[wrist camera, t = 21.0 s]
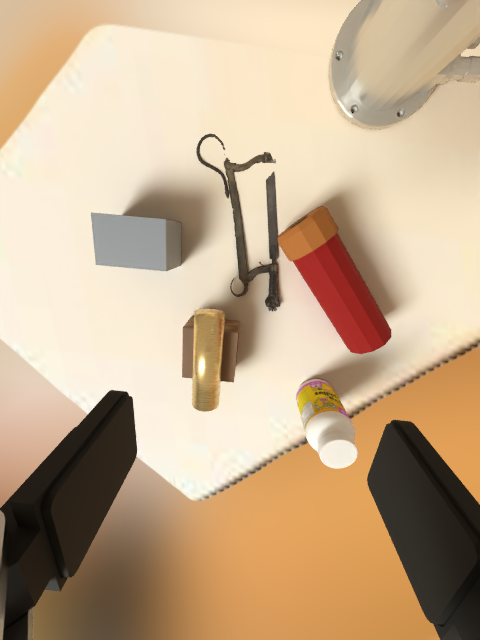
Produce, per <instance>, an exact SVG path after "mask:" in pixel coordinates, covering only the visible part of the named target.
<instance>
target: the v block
mask: <svg viewBox="0 0 480 640" xmlns="http://www.w3.org/2000/svg"><path fill="white" fill-rule="evenodd" d="M238 333H239V322H238V321H228V320H225V322H224V337H223V351H222V366H221V381H226V382H234V376H235V367H236V356H237V345H238ZM193 345H194V317H191V318H190V319H189V320H188V322H187V323H186V324H185V326H184V327H183V364H182V377H184V378H193Z"/></svg>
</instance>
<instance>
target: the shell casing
mask: <svg viewBox="0 0 480 640" xmlns="http://www.w3.org/2000/svg"><path fill="white" fill-rule="evenodd" d="M337 231H338V227H337V225H336V224H335V222H334V220H333V218H332V216H331V215H330V213H329V211H328V209H327V208H325V207H323V206H321V207H318V208H317V209H315V210H313V211H312V212H310V213H309V214H307V215H306V216H304V217H303V218H301V219H300V220H298V221H297V222H295V223H294V224H293V225H291V226H290V227H289V228H287V229H286V230H285V231H284V232H282V233H281V234H280V235H279V236H278V244H279V245H280V247H281V248H282V250H283V251H284V253H285V255H286V256H287V258H288V259H289V260H290V261H293V262H294V264H295V265H296V267H297V269H298V270H299V272H300V273H301V275H302V277H303V278H304V280H305V281H306V283H307V284H308V286H309V288H310V289H311V291H312V292H313V294H314V296H315V297H316V299H317V300H318V302H319V303H320V305H321V307H322V308H323V310H324V311H325V313H326V315H327V316H328V318H329V319H330V321H331V322H332V324H333V326H334V327H335V329H336V330H337V332H338V334H339V335H340V337H341V338H342V340H343V342H344V343H345V345H346V346H347V348H348V349H349V350H350V351H351V352H353V353H359V354H363V353H367V352H372V351H375V350H376V349H378V348H380V347H382V346H384V345H385V344H386V343H387V341H388V340H389V339H390V338H391V329H390V327H389V325H388V323H387V322H386V320H385V318H384V316H383V314H382V313H381V311H380V309H379V307H378V305H377V304H376V302H375V300H374V298H373V296H372V295H371V293H370V291H369V289H368V287H367V286H366V284H365V282H364V280H363V279H362V277H361V275H360V273H359V271H358V270H357V268H356V266H355V264H354V262H353V261H352V259H351V257H350V255H349V253H348V252H347V250H346V248H345V246H344V245H343V243H342V241H341V239H340V237H339V236H338V234H337Z"/></svg>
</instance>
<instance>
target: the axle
mask: <svg viewBox="0 0 480 640" xmlns="http://www.w3.org/2000/svg"><path fill="white" fill-rule="evenodd" d="M224 322H225V313H224V312H223V311H221V310H217V309H199V310H196V311H195V312H194V345H193V382H192V405H193V407H194V408H195V409H197V410H199V411H211V410H214V409H215V408H217V407H218V405H219V396H220V381H221V366H222V351H223V337H224Z"/></svg>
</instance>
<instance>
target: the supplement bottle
mask: <svg viewBox="0 0 480 640" xmlns="http://www.w3.org/2000/svg"><path fill="white" fill-rule="evenodd" d="M296 400H297V405H298V408H299V412H300V415H301V419H302V423H303V426H304V430H305V434H306V437H307V440H308V442H309V444H310V445H311V446H312V447H313V448H314V449H315V450H316V451H318V453H319V456H320V458H321V461H322V462H323V463H324V464H325V465H327V466H328V467H331V468H337V469H338V468H344V467H347V466H349V465H351V464H352V463H353V462H354V461H355V459H356V458H357V454H358V451H357V448H356V446H355V444H354V442H353V441H354V437H355V430H354V426H353V424H352V422H351V420H350V418H349V416H348V414H347V413H346V411H345V409H344V407H343V405H342V403H341V402H340V400H339V398H338V396H337V394H336V392H335V390H334V389H333V387H332V386H331V385H330V384H329V383H328V382H326V381H324V380H320V379H312V380H308V381H306V382H304V383H303V384H302V385H301V386H300V387H299V388H298V390H297V393H296Z"/></svg>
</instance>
